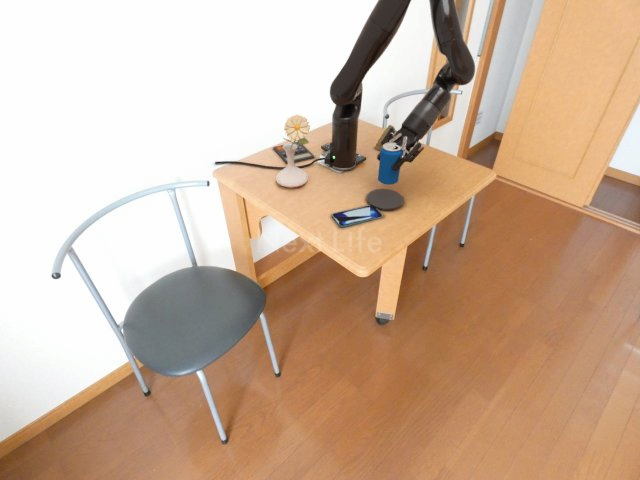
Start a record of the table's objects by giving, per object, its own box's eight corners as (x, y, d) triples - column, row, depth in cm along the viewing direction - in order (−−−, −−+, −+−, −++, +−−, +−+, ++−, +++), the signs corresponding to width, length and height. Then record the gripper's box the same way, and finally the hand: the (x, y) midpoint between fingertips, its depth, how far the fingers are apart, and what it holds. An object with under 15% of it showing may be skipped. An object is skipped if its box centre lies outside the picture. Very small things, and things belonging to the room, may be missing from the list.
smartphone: (384, 216, 116) (340, 227, 111) (383, 219, 116) (340, 229, 112) (372, 204, 121) (330, 213, 117) (372, 206, 122) (330, 216, 117)
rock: (409, 150, 147) (400, 136, 153) (400, 136, 141) (391, 122, 147) (386, 166, 150) (378, 152, 156) (376, 153, 144) (368, 139, 151)
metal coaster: (362, 207, 120) (363, 204, 120) (371, 188, 129) (371, 186, 128) (399, 214, 117) (400, 211, 117) (405, 194, 126) (406, 192, 125)
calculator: (299, 141, 156) (314, 155, 146) (299, 143, 157) (314, 157, 147) (273, 146, 152) (286, 162, 142) (273, 148, 153) (287, 164, 143)
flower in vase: (270, 187, 130) (263, 117, 114) (284, 172, 138) (279, 105, 122) (305, 194, 127) (302, 123, 111) (316, 178, 135) (316, 110, 119)
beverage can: (397, 187, 116) (402, 152, 108) (376, 185, 117) (380, 150, 109) (398, 177, 120) (403, 142, 113) (378, 175, 122) (382, 141, 114)
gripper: (399, 105, 113) (365, 150, 116) (433, 120, 103) (395, 169, 106) (410, 118, 118) (377, 161, 121) (443, 134, 109) (406, 180, 112)
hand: (385, 164), depth 114 cm, fingers closed on beverage can, 6 cm apart
